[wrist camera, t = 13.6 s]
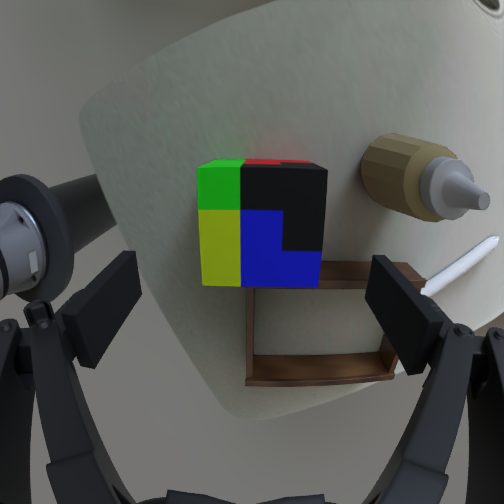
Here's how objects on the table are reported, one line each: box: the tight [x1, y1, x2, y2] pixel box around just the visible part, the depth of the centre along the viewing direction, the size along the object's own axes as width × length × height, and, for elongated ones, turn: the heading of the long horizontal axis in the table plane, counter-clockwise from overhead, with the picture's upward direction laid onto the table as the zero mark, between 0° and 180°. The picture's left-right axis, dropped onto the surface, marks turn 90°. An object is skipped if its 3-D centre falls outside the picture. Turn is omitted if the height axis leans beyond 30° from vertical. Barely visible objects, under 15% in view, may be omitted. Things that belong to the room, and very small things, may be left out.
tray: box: [245, 261, 427, 387], centre depth 35 cm, size 21×16×6 cm
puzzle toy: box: [197, 159, 328, 287], centre depth 28 cm, size 10×10×10 cm
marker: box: [421, 236, 499, 297], centre depth 34 cm, size 18×2×2 cm, turn 123°
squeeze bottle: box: [361, 133, 490, 222], centre depth 22 cm, size 8×8×18 cm
